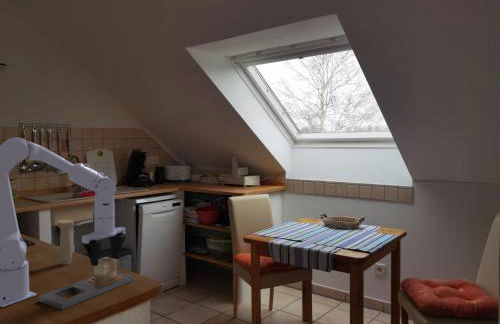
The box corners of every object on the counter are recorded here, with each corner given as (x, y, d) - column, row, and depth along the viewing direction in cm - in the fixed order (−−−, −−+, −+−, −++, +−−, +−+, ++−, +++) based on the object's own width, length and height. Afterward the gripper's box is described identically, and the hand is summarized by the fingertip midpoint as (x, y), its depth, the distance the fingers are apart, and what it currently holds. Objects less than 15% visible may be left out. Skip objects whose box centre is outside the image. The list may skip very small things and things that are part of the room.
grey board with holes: (62, 309, 104) (62, 303, 104) (38, 301, 109) (38, 295, 109) (132, 281, 125) (132, 275, 125) (110, 275, 130) (109, 270, 130)
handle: (71, 260, 145) (70, 218, 144) (76, 264, 140) (75, 222, 139) (56, 262, 142) (55, 220, 141) (61, 267, 137) (60, 223, 136)
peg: (104, 288, 119) (104, 263, 119) (94, 285, 121) (94, 260, 121) (116, 283, 123) (116, 259, 122) (106, 280, 125) (106, 256, 125)
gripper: (93, 223, 112) (93, 270, 113) (132, 214, 125) (132, 257, 126) (76, 220, 116) (77, 266, 117) (116, 212, 129) (116, 254, 129)
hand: (105, 261), depth 122 cm, fingers open, 7 cm apart
